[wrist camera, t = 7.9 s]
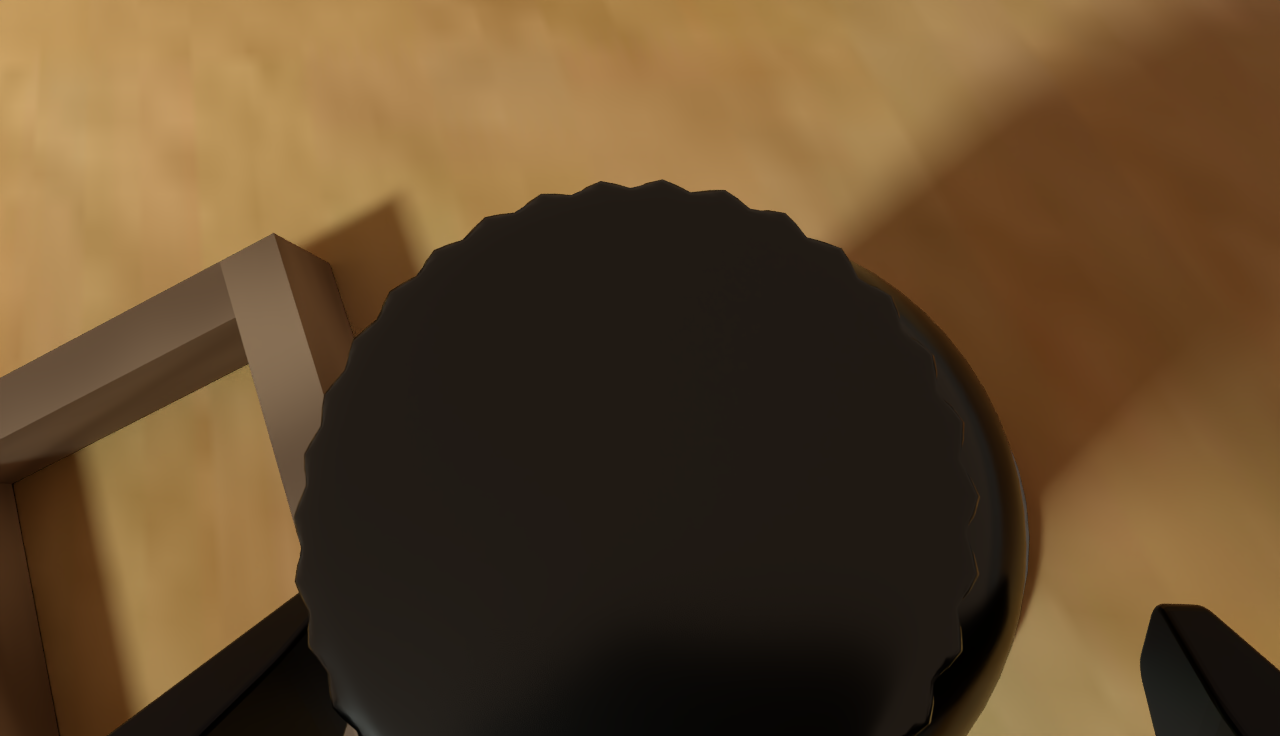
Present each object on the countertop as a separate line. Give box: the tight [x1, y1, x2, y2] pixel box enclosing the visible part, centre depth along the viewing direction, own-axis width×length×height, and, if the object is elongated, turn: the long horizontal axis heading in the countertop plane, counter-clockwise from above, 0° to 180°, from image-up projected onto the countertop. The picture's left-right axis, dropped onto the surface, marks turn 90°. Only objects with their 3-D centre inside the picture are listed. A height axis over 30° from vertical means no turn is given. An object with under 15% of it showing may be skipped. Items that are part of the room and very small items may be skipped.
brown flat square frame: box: [0, 233, 358, 736], centre depth 19 cm, size 12×12×2 cm
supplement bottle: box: [294, 180, 1027, 736], centre depth 11 cm, size 7×7×12 cm
